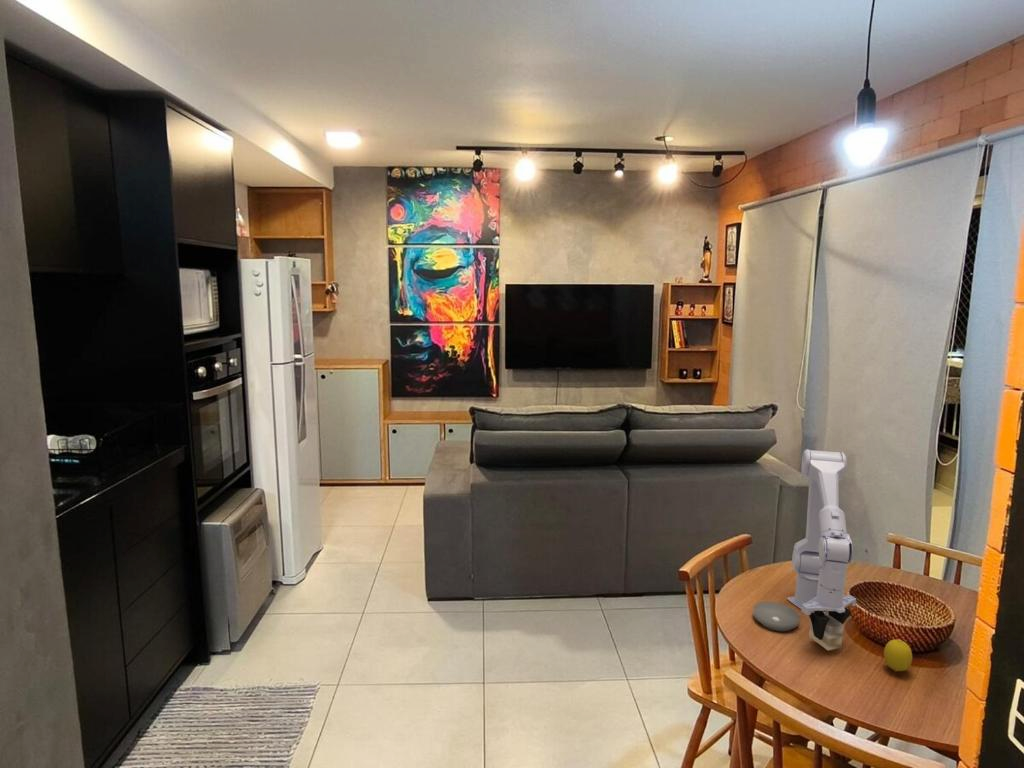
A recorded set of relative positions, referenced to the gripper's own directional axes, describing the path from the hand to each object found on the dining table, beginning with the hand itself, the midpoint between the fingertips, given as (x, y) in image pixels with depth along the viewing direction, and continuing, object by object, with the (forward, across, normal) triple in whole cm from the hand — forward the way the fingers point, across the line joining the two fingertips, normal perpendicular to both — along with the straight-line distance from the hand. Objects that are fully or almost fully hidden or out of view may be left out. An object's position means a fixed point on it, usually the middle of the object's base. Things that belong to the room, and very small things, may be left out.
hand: (825, 635), depth 151 cm
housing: (+2, 0, 0) cm, 2 cm away
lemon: (+3, +9, -12) cm, 15 cm away
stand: (+3, -4, +13) cm, 14 cm away
